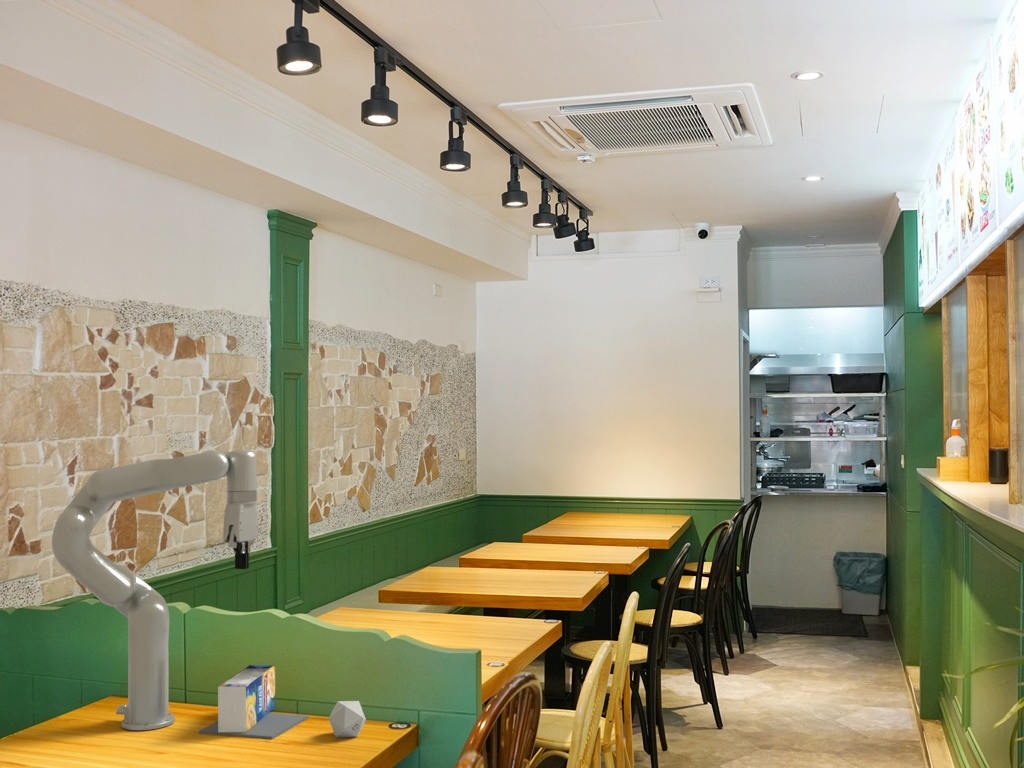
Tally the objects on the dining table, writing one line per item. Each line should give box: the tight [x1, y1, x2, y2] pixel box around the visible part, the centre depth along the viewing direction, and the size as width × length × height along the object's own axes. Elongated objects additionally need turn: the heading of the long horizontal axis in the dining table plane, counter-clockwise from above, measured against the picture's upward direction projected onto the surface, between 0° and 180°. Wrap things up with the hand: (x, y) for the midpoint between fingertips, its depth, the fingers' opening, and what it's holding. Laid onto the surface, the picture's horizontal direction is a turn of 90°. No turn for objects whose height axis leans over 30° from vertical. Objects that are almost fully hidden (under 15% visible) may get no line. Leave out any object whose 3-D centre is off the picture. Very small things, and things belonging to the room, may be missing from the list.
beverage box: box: [217, 664, 276, 732], centre depth 250 cm, size 7×11×22 cm
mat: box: [198, 712, 309, 740], centre depth 246 cm, size 20×18×1 cm
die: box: [328, 700, 367, 738], centre depth 237 cm, size 8×9×10 cm
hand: (242, 568), depth 259 cm, fingers closed
